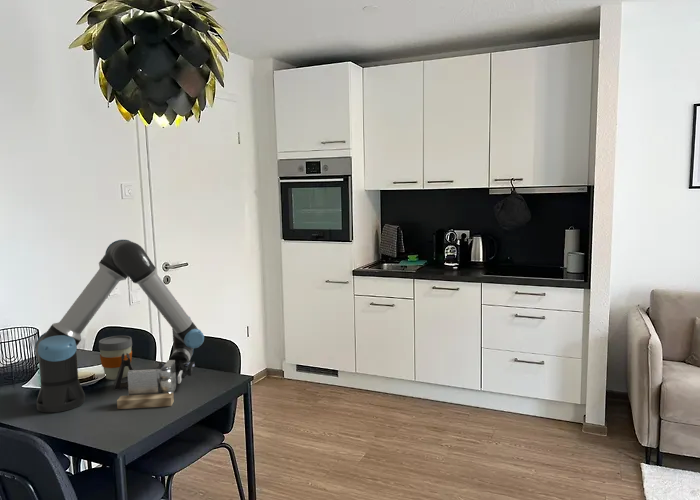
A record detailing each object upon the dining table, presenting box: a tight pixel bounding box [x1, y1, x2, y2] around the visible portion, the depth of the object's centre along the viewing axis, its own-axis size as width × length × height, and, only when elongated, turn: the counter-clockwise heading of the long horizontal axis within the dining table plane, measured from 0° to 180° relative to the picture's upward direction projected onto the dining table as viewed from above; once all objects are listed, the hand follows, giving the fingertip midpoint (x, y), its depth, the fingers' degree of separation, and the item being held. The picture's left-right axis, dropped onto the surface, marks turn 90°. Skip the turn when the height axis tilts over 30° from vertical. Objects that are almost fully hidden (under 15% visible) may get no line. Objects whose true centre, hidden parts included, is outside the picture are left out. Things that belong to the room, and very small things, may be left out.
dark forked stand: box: [114, 353, 135, 390], centre depth 208 cm, size 9×6×12 cm, turn 114°
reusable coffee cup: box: [98, 335, 133, 380], centre depth 218 cm, size 13×13×15 cm
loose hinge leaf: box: [159, 359, 177, 394], centre depth 198 cm, size 4×14×11 cm, turn 7°
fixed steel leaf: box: [127, 367, 172, 396], centre depth 192 cm, size 14×4×12 cm, turn 97°
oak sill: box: [116, 393, 175, 410], centre depth 189 cm, size 18×4×3 cm, turn 97°
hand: (169, 380), depth 195 cm, fingers open, 6 cm apart
